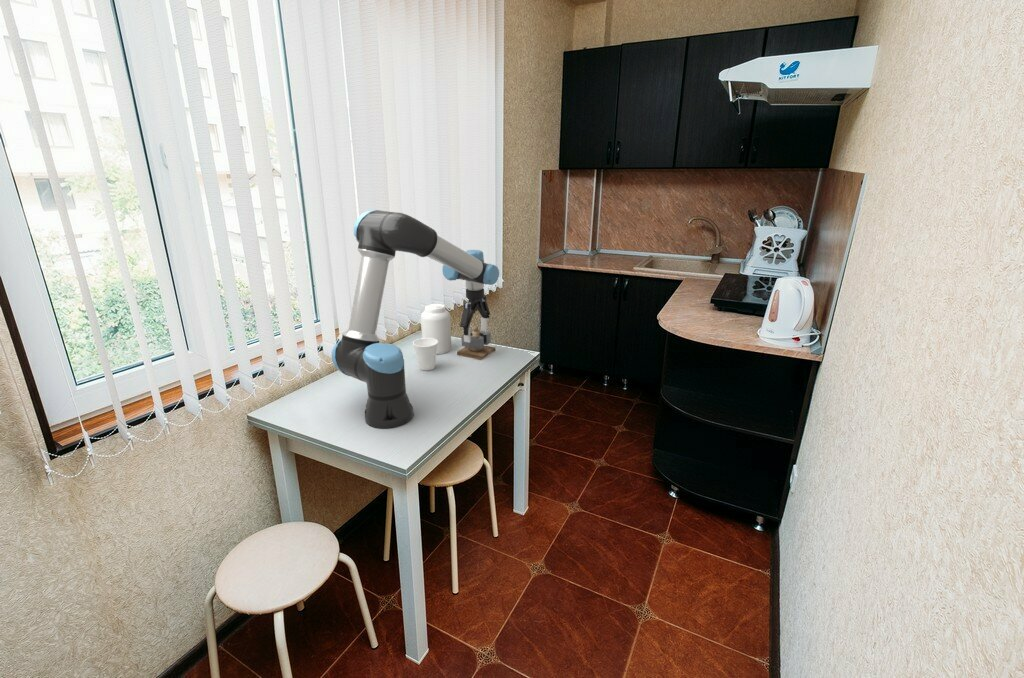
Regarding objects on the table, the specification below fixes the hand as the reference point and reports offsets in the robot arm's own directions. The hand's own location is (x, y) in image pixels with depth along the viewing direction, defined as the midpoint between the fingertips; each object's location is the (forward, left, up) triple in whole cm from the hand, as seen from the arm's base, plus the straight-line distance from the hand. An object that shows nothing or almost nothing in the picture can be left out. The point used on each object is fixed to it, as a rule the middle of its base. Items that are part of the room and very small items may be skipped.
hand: (476, 337), depth 202 cm
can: (-5, +17, -8) cm, 19 cm away
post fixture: (0, 0, -7) cm, 7 cm away
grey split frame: (0, 0, -3) cm, 3 cm away
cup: (-23, +9, -8) cm, 26 cm away
